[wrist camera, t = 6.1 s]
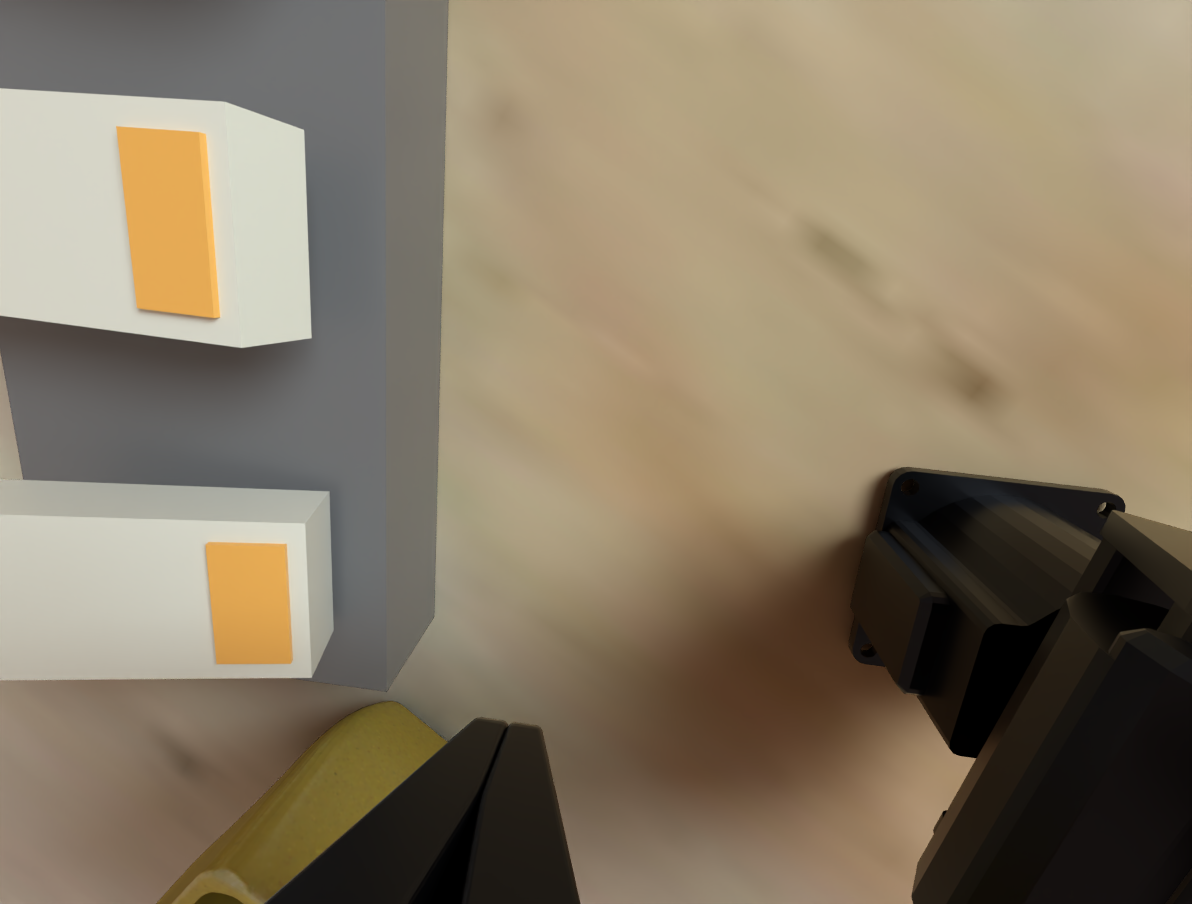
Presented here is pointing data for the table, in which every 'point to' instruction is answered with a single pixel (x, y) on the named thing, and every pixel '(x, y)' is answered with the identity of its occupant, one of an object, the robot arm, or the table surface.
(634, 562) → the table surface
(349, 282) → the power strip
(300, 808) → the flower pot
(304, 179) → the block
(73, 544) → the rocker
